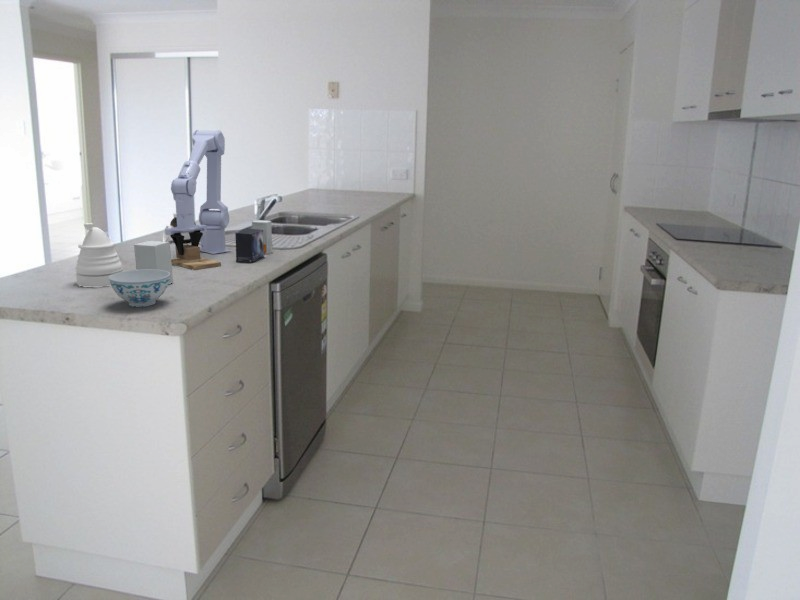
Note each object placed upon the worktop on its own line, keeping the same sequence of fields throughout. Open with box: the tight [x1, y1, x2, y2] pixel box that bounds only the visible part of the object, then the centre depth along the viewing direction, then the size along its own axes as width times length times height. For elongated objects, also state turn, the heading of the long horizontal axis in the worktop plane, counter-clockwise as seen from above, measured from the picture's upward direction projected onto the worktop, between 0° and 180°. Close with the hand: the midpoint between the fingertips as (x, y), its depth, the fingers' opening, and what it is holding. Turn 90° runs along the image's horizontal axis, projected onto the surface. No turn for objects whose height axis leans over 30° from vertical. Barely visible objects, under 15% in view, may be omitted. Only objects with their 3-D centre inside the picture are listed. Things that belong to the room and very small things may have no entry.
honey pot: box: [75, 222, 124, 287], centre depth 196 cm, size 13×13×18 cm
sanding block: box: [175, 243, 201, 262], centre depth 227 cm, size 8×4×4 cm, turn 48°
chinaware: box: [109, 269, 170, 308], centre depth 175 cm, size 15×15×8 cm
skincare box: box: [251, 219, 273, 255], centre depth 245 cm, size 6×4×12 cm
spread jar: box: [162, 212, 197, 244], centre depth 265 cm, size 12×11×12 cm
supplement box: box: [133, 240, 174, 285], centre depth 195 cm, size 7×7×13 cm
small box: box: [234, 228, 265, 264], centre depth 233 cm, size 11×6×10 cm, turn 169°
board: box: [171, 257, 222, 271], centre depth 225 cm, size 16×10×1 cm, turn 48°
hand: (187, 253), depth 227 cm, fingers closed on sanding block, 4 cm apart
